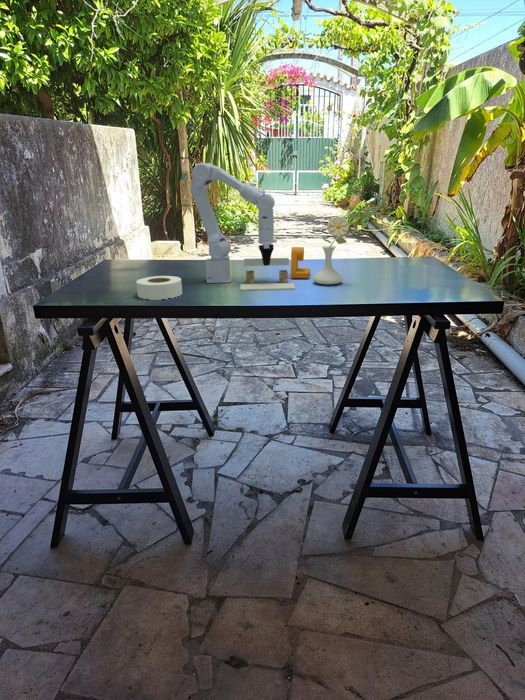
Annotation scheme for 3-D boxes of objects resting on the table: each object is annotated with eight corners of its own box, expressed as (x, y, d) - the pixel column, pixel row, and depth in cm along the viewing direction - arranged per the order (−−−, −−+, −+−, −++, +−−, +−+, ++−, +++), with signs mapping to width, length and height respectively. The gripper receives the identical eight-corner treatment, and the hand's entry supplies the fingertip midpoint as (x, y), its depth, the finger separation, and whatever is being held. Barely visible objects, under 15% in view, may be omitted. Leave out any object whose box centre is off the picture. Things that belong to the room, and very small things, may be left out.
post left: (246, 284, 184) (245, 273, 183) (246, 281, 189) (246, 270, 187) (253, 283, 184) (253, 273, 183) (254, 281, 189) (253, 270, 187)
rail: (244, 266, 183) (244, 259, 182) (244, 264, 185) (244, 258, 184) (288, 265, 183) (288, 259, 182) (288, 264, 185) (288, 257, 184)
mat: (240, 290, 174) (240, 289, 174) (240, 285, 182) (240, 284, 181) (295, 289, 174) (295, 288, 174) (293, 284, 182) (293, 283, 182)
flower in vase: (309, 285, 180) (310, 217, 171) (316, 279, 190) (318, 214, 181) (343, 287, 176) (346, 217, 167) (349, 281, 186) (352, 214, 177)
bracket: (308, 279, 189) (309, 249, 185) (290, 279, 191) (290, 249, 186) (310, 274, 199) (310, 245, 195) (292, 274, 200) (293, 245, 196)
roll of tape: (141, 290, 178) (139, 275, 176) (184, 289, 179) (182, 274, 177) (133, 301, 163) (132, 285, 161) (180, 299, 164) (179, 284, 162)
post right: (279, 283, 184) (279, 272, 183) (279, 280, 189) (279, 270, 187) (287, 283, 184) (287, 272, 183) (286, 280, 189) (286, 269, 187)
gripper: (277, 230, 172) (277, 268, 177) (275, 226, 186) (276, 261, 191) (258, 230, 172) (258, 268, 177) (257, 226, 186) (258, 261, 191)
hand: (266, 264), depth 184 cm, fingers closed on rail, 2 cm apart
